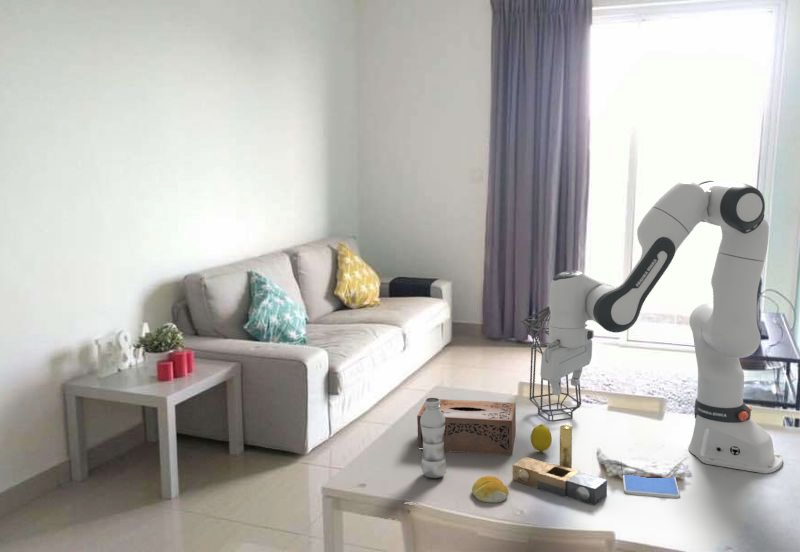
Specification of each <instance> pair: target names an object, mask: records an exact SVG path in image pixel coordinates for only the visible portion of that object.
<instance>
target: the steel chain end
mask: <svg viewBox="0 0 800 552" xmlns="http://www.w3.org/2000/svg"><path fill="white" fill-rule="evenodd" d="M555 476H559V475H556V474H555ZM559 477H562V476H559ZM537 489H538V490H540V491H541V490H542V491H544V492H548V493H551V494H553V495H557V496H559V497H564V498H571V499H574V500H576V501H579V502H584V503H586V504H590V505H592V506H596V505H597V504H598V503H600V502H601V501H603V500H604V499H605V498H606V497H607V496H608V495H607V494H608V479H605V478H601V477H599V476H595V475H592V474H588V473H584V472H581V471H580V472H577V473H576V474H575V475H573V476H572V477H571V478H569V479H568V480H566V489H563V488H560V487H556V486H553V485H550V484H547V483H543V482H540V481H538V487H537Z"/></svg>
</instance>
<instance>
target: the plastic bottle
mask: <svg viewBox="0 0 800 552" xmlns="http://www.w3.org/2000/svg"><path fill="white" fill-rule="evenodd" d="M424 403H425V408H426V410H425V411H424V412H423V414H422V416H421V419H420V423H421V430H422V436H423V450H422V457H421V462H420V463H421V465H420V467H421V472H422V474H423V475H424V477H426V478H429V479H438V478H443V477H444V475H445V474H446V472H447V469H448V468H447V466H448V465H447V460H446V456H445V455H446V453H445V451H444V431H445V417H444V415H443V413H442V412H441V411H440V409H439V408H440V400H439V398H437V397H428V398H426V399H425V401H424Z"/></svg>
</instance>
